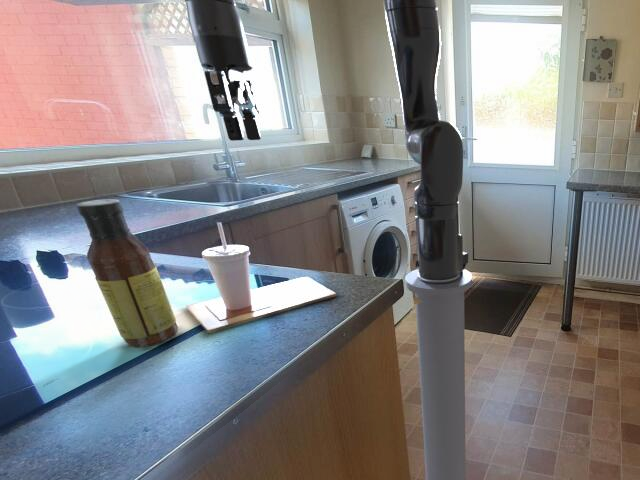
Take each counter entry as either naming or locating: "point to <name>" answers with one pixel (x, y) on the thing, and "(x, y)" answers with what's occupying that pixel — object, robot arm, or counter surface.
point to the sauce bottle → (127, 276)
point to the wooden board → (260, 304)
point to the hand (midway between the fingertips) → (246, 140)
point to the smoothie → (230, 272)
